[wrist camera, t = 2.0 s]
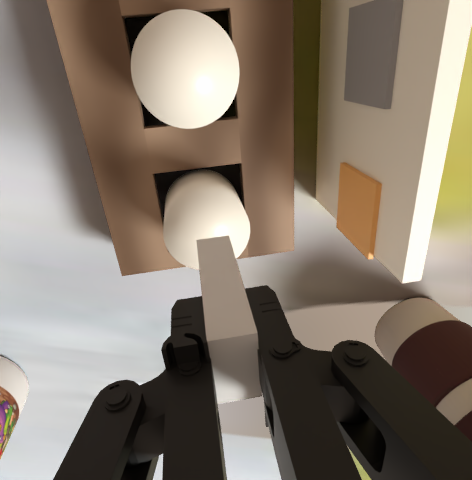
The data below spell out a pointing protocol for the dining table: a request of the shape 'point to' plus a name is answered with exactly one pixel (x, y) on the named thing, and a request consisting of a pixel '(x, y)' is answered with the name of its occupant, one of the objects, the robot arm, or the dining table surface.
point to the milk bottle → (11, 398)
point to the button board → (179, 139)
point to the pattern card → (387, 120)
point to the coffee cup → (431, 355)
